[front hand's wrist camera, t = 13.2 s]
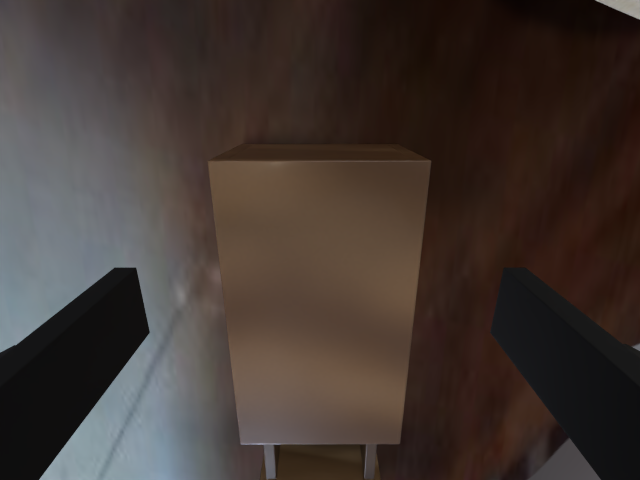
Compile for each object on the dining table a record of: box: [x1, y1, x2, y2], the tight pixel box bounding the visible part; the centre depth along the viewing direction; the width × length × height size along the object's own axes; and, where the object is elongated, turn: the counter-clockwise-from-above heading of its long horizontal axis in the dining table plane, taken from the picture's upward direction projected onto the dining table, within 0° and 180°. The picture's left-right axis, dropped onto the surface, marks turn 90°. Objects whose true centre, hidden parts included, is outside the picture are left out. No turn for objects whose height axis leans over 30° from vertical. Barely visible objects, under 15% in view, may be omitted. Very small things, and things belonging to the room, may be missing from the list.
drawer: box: [260, 444, 381, 480], centre depth 28 cm, size 24×10×6 cm, turn 0°
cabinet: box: [208, 144, 431, 444], centre depth 24 cm, size 19×11×8 cm, turn 0°
